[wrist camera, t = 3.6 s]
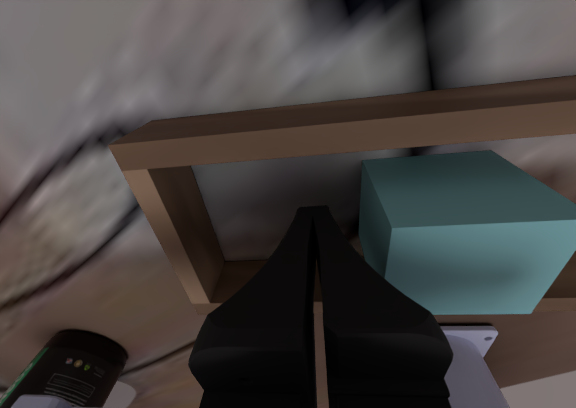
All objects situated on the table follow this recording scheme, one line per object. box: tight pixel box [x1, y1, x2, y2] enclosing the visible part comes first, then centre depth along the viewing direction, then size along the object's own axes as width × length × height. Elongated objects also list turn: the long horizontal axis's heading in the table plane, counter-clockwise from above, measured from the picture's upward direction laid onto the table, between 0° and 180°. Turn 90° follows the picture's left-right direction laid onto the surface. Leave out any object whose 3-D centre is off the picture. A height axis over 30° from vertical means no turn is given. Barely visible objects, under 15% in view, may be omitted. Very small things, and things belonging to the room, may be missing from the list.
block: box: [358, 150, 576, 315], centre depth 11 cm, size 4×6×5 cm
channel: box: [108, 75, 576, 315], centre depth 12 cm, size 10×21×3 cm, turn 97°
